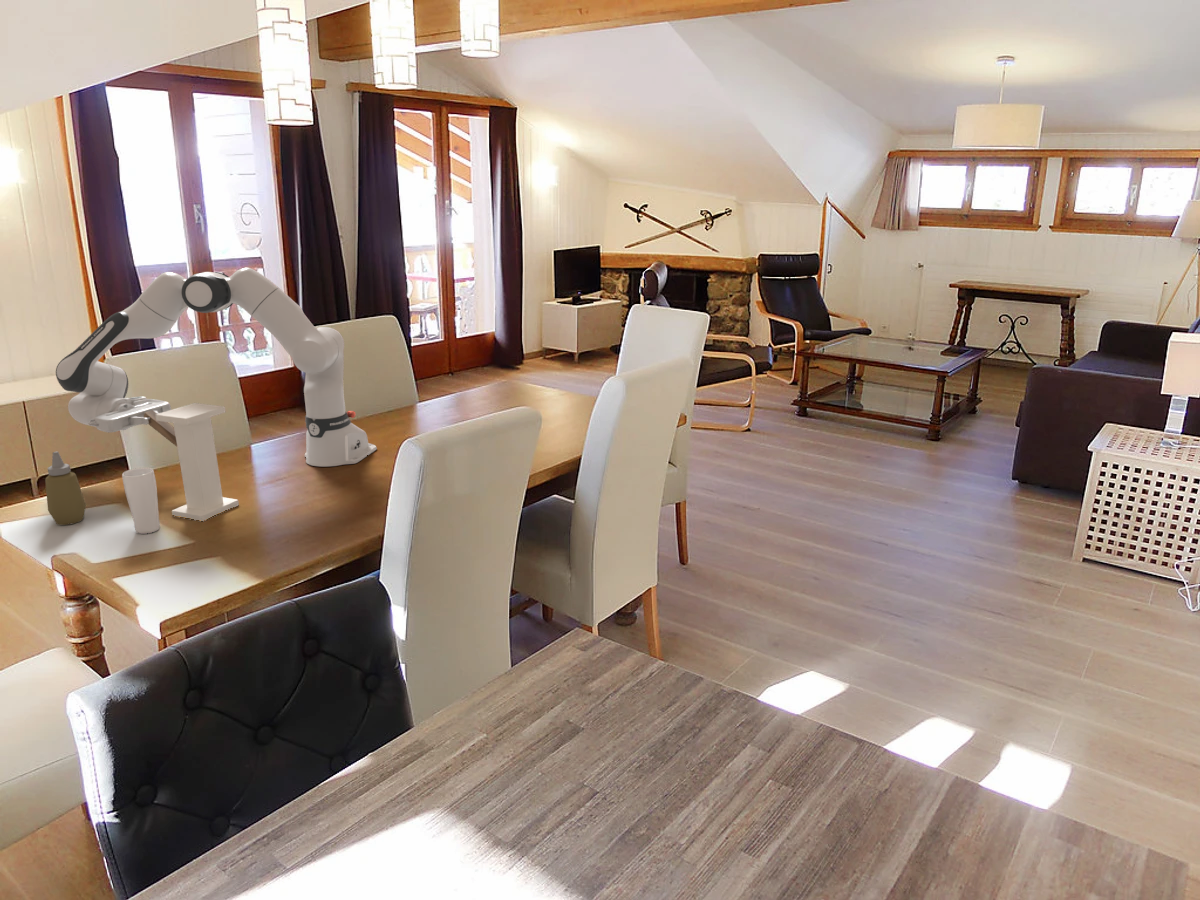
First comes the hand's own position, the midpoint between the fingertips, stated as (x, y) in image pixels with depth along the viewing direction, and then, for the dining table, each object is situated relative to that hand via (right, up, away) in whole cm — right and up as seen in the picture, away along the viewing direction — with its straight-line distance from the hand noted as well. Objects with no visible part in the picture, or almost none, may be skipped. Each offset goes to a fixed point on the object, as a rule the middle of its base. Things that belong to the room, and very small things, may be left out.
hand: (155, 419), depth 233 cm
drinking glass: (+11, -28, -25) cm, 40 cm away
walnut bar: (+6, -6, -1) cm, 8 cm away
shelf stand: (+20, -24, -13) cm, 34 cm away
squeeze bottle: (-11, -26, -20) cm, 35 cm away
